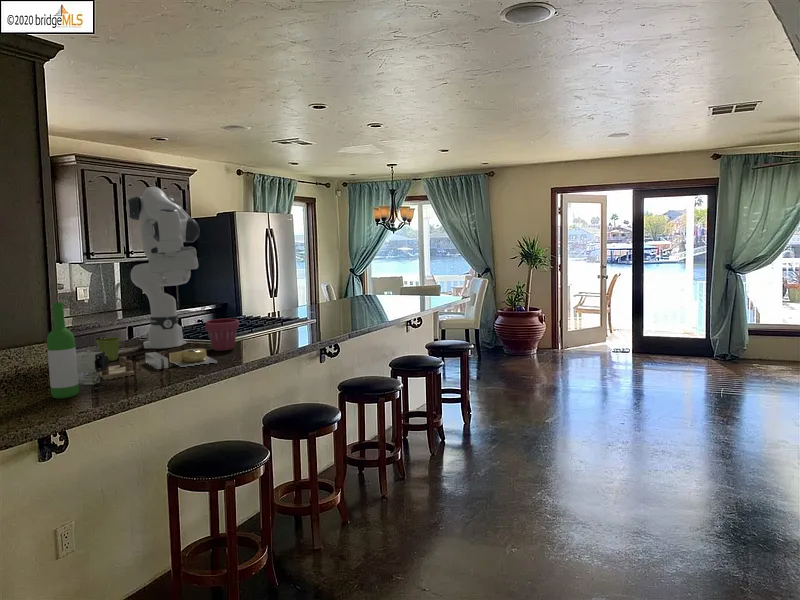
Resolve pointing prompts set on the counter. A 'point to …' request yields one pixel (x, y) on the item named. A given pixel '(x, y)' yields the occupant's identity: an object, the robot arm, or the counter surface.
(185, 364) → the nut base
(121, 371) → the rack
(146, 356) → the white bar
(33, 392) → the counter surface
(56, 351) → the wine bottle
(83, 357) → the pneumatic valve
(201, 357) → the ring nut
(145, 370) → the counter surface
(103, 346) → the plant pot
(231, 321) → the plant pot
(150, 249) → the robot arm
